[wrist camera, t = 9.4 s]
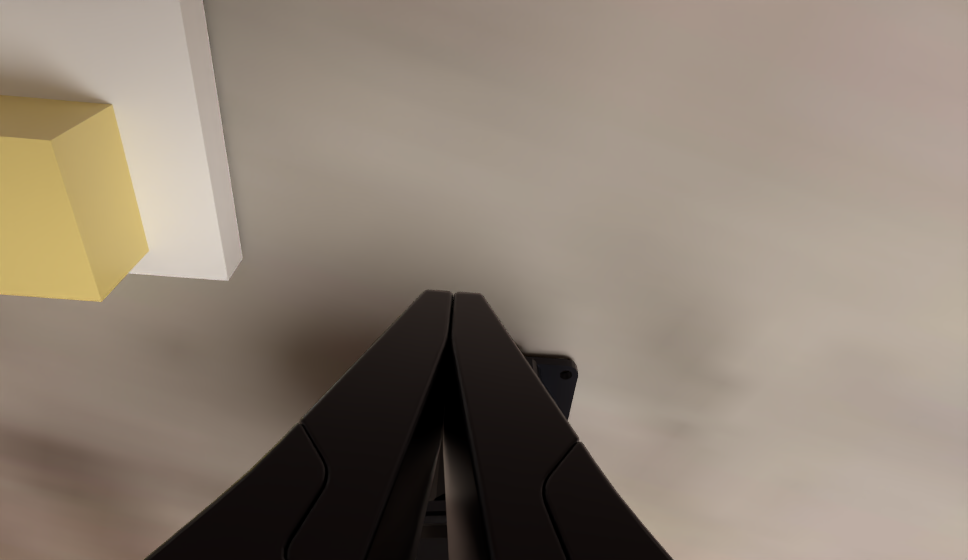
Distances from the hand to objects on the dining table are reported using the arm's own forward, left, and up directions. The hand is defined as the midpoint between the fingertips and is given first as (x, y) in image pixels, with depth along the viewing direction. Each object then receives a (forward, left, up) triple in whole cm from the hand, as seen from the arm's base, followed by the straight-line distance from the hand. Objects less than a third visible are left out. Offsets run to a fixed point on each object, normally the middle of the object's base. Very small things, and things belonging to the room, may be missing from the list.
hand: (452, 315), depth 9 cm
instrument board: (0, +18, -12) cm, 22 cm away
